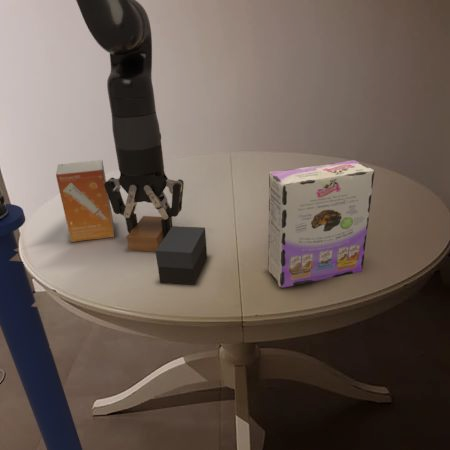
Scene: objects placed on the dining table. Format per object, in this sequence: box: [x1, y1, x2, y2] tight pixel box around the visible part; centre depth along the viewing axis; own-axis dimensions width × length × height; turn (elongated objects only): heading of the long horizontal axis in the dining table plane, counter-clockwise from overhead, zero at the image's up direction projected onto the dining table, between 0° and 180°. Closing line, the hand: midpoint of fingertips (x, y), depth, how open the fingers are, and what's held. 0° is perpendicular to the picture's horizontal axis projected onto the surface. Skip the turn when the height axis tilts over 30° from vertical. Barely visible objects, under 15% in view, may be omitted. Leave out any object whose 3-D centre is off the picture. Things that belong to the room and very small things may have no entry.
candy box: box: [267, 159, 375, 289], centre depth 70 cm, size 14×6×16 cm, turn 106°
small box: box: [55, 159, 115, 243], centre depth 86 cm, size 8×6×13 cm
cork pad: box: [126, 215, 164, 253], centre depth 86 cm, size 9×6×3 cm, turn 169°
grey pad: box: [155, 225, 207, 269], centre depth 74 cm, size 9×6×3 cm, turn 169°
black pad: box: [157, 243, 208, 286], centre depth 76 cm, size 9×6×3 cm, turn 169°
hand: (151, 235), depth 86 cm, fingers closed on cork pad, 5 cm apart
